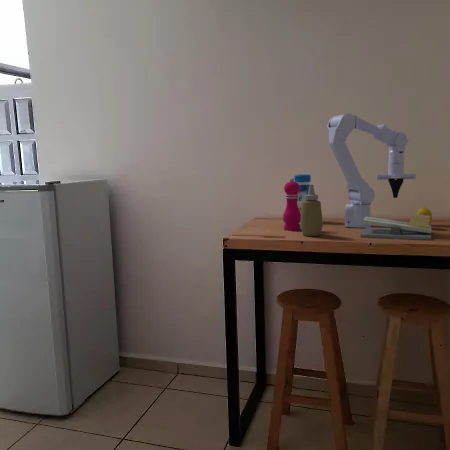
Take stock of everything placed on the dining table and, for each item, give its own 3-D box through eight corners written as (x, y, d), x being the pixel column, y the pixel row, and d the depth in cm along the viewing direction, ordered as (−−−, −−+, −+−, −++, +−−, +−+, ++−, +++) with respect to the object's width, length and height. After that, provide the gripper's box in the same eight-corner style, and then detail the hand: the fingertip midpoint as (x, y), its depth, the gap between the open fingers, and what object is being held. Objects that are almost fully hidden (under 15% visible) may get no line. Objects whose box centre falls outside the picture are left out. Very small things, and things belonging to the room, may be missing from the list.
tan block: (408, 228, 156) (410, 215, 155) (408, 225, 160) (411, 213, 159) (427, 230, 154) (429, 217, 153) (427, 228, 158) (429, 215, 157)
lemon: (433, 229, 168) (434, 207, 166) (417, 229, 169) (417, 208, 168) (429, 227, 173) (430, 206, 172) (414, 227, 174) (414, 206, 173)
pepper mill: (303, 228, 179) (303, 176, 176) (298, 231, 173) (298, 177, 170) (285, 227, 182) (285, 176, 179) (280, 230, 176) (279, 178, 173)
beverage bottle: (316, 222, 194) (316, 174, 191) (297, 223, 192) (297, 175, 189) (307, 219, 202) (307, 174, 199) (289, 220, 200) (289, 174, 197)
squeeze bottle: (321, 237, 158) (321, 185, 156) (297, 236, 161) (297, 185, 159) (324, 233, 166) (324, 183, 163) (302, 232, 169) (302, 183, 166)
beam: (362, 226, 160) (362, 219, 159) (364, 222, 168) (365, 216, 167) (430, 236, 152) (431, 229, 151) (430, 232, 160) (431, 225, 159)
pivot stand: (360, 237, 157) (360, 226, 156) (366, 229, 171) (366, 220, 171) (431, 240, 148) (431, 229, 148) (430, 232, 163) (430, 222, 162)
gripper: (377, 164, 178) (377, 198, 181) (417, 163, 175) (416, 198, 177) (376, 163, 185) (375, 197, 187) (414, 162, 182) (413, 196, 184)
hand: (395, 197), depth 183 cm, fingers closed
